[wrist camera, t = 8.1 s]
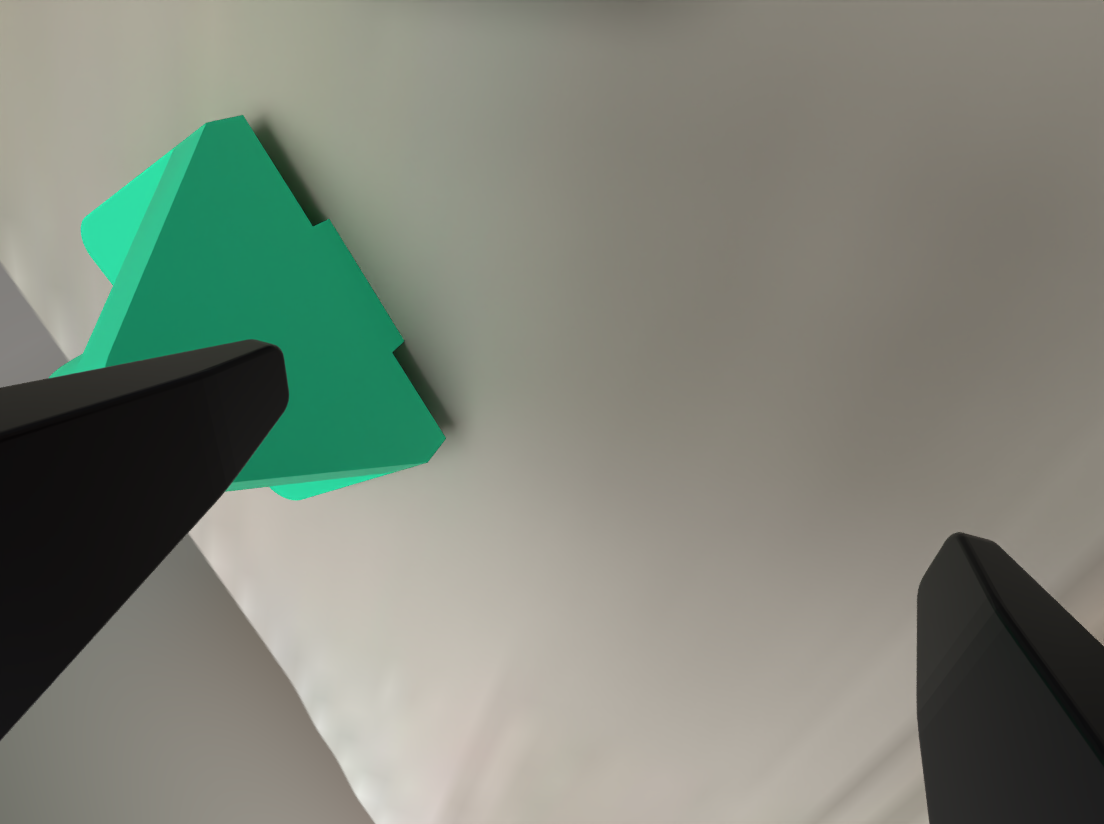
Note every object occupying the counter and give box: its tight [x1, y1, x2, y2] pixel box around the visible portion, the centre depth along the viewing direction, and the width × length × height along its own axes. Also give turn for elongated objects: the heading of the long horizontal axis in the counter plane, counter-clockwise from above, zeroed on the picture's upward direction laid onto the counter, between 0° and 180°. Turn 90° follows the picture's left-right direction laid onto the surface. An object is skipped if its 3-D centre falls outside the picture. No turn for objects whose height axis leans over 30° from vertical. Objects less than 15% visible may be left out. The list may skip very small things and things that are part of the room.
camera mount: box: [49, 115, 446, 500], centre depth 20 cm, size 12×8×10 cm, turn 28°
